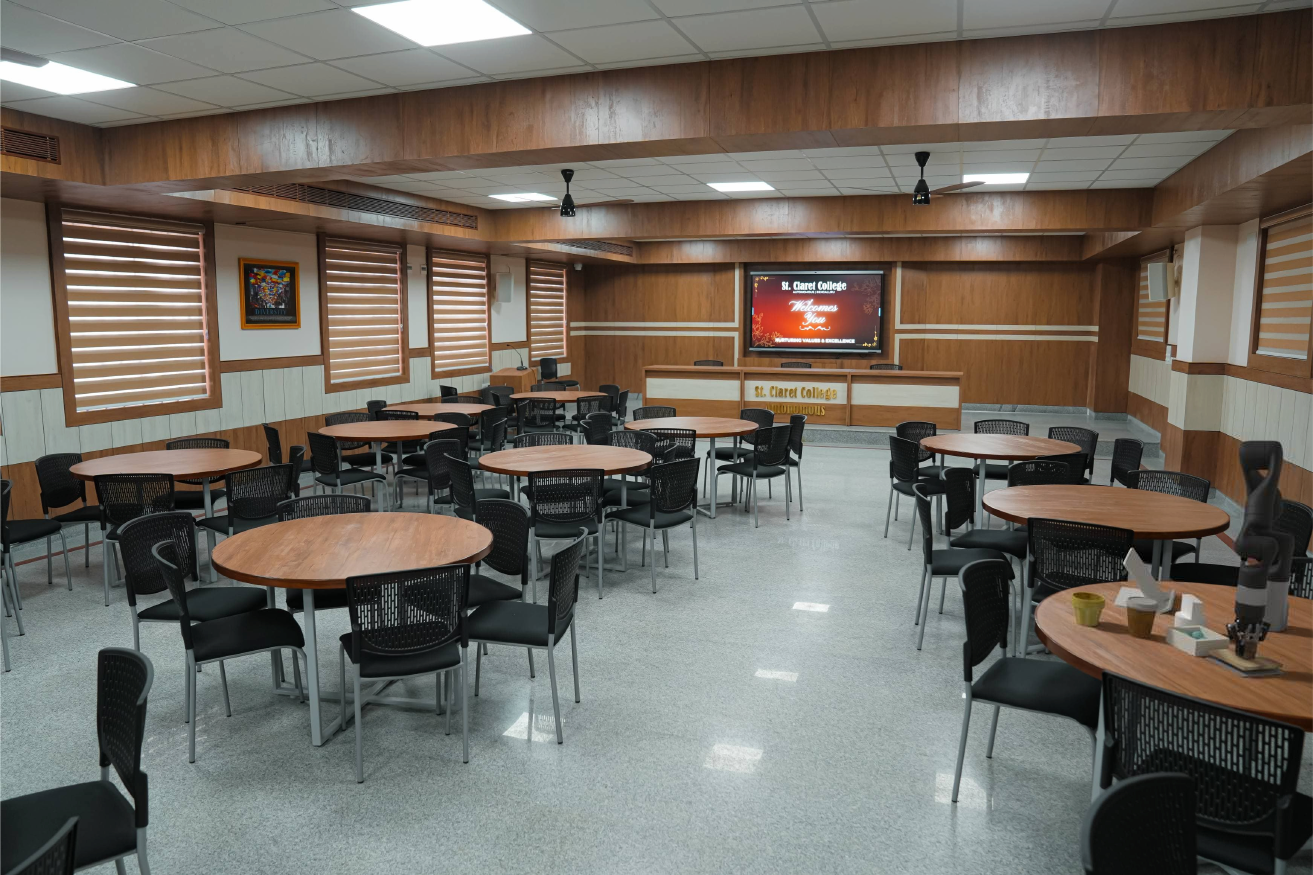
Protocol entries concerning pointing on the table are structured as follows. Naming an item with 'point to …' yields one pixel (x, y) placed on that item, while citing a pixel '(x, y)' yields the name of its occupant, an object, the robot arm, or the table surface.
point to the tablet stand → (1143, 585)
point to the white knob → (1190, 612)
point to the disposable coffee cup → (1140, 616)
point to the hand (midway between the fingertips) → (1245, 654)
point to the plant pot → (1087, 607)
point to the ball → (1197, 635)
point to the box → (1193, 645)
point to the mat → (1241, 672)
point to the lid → (1246, 658)
